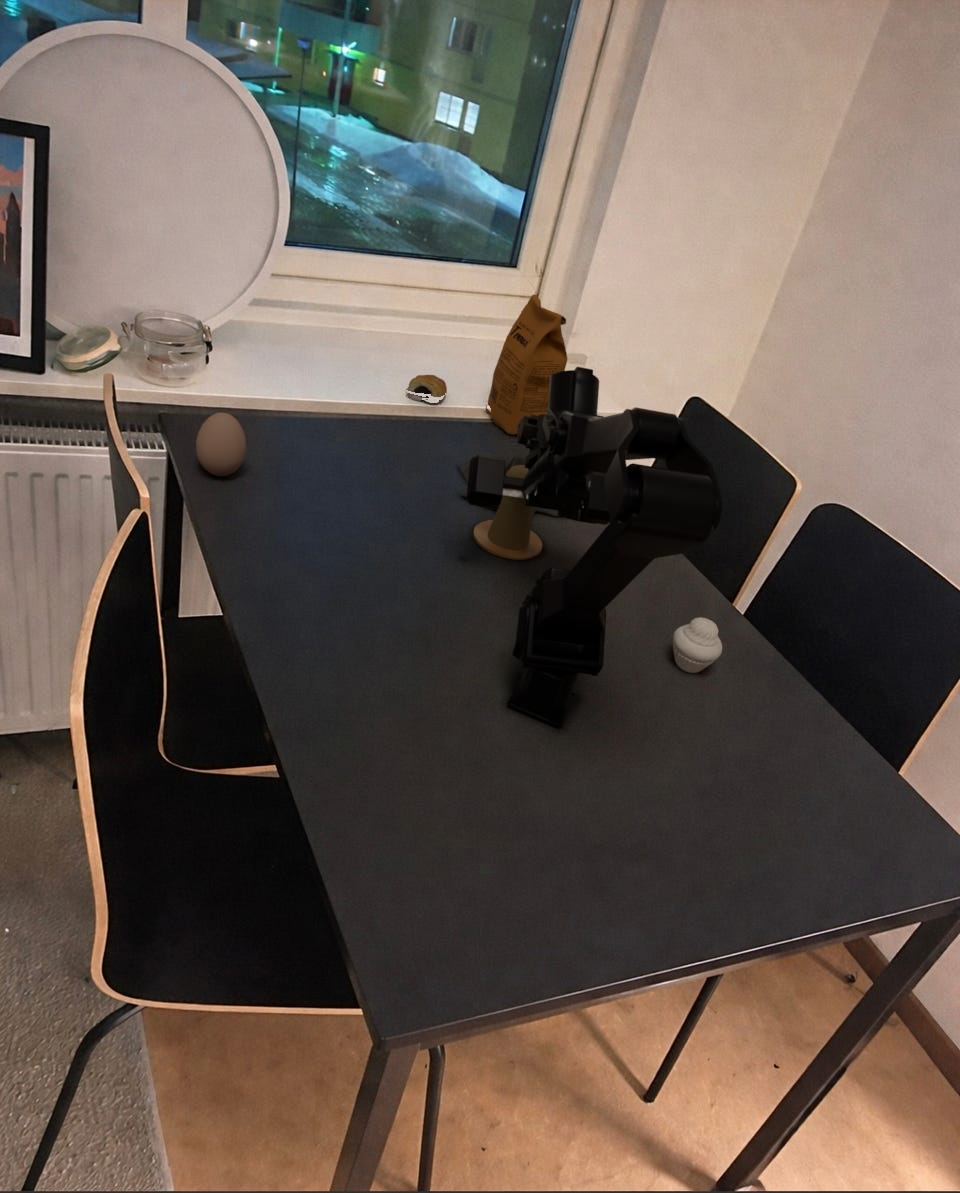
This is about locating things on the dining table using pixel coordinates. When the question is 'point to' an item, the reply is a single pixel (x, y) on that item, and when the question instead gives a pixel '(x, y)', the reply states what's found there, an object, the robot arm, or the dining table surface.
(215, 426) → the egg
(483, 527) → the cork coaster
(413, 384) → the pastry
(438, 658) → the dining table surface
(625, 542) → the robot arm
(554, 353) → the coffee package
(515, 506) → the pepper shaker
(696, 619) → the muffin
